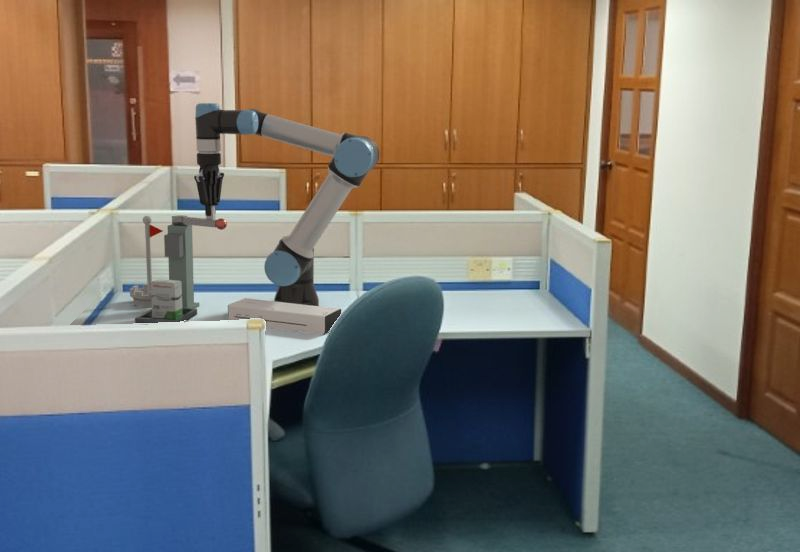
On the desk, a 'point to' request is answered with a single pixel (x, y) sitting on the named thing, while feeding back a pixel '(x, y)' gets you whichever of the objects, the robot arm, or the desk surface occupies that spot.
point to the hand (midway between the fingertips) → (210, 225)
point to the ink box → (166, 299)
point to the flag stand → (144, 294)
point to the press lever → (199, 221)
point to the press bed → (148, 318)
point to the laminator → (285, 315)
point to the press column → (181, 260)
